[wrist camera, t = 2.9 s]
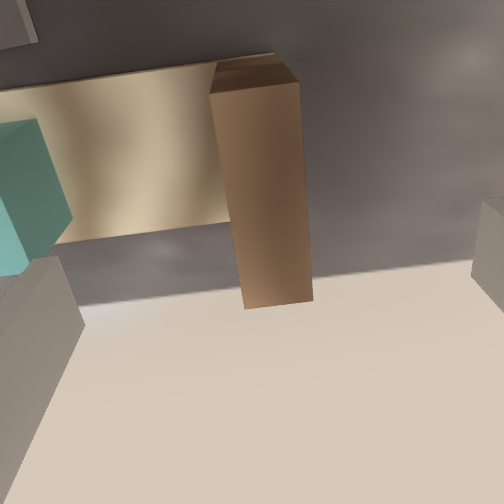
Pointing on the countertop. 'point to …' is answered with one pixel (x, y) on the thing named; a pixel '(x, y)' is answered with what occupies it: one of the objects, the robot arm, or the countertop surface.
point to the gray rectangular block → (15, 24)
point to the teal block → (28, 197)
